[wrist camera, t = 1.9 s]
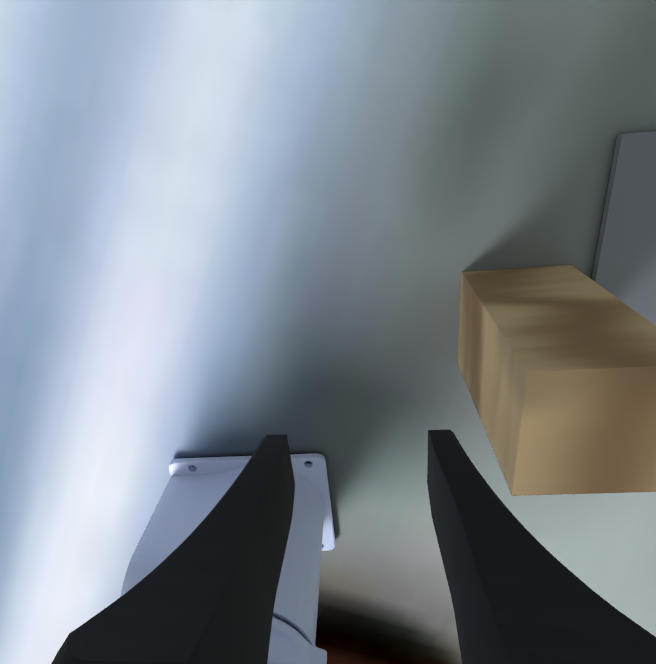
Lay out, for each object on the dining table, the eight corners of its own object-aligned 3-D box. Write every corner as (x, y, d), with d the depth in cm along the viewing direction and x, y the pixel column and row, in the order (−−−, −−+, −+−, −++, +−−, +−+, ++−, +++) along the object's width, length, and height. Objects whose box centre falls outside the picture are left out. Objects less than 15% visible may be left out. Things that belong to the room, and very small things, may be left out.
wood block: (457, 362, 24) (511, 495, 16) (461, 271, 21) (527, 372, 13) (556, 357, 23) (664, 491, 15) (571, 264, 21) (707, 363, 13)
